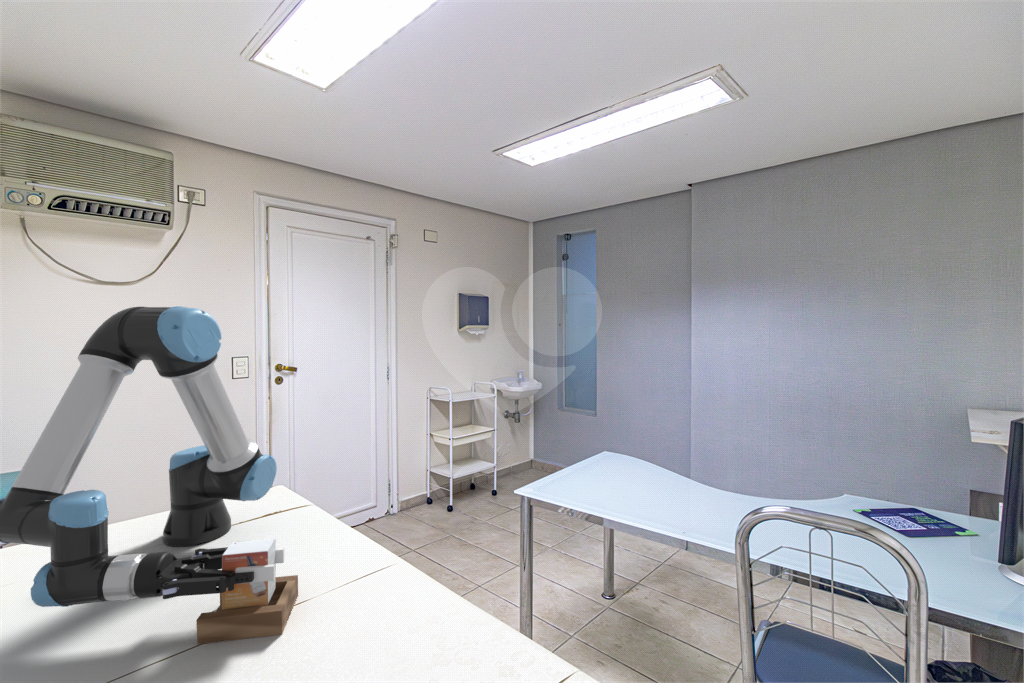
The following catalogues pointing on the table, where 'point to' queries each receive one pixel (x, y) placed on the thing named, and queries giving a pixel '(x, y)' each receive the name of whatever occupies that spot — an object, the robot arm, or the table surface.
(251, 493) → the robot arm
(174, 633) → the table surface
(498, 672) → the table surface
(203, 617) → the rack
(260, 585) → the small box
